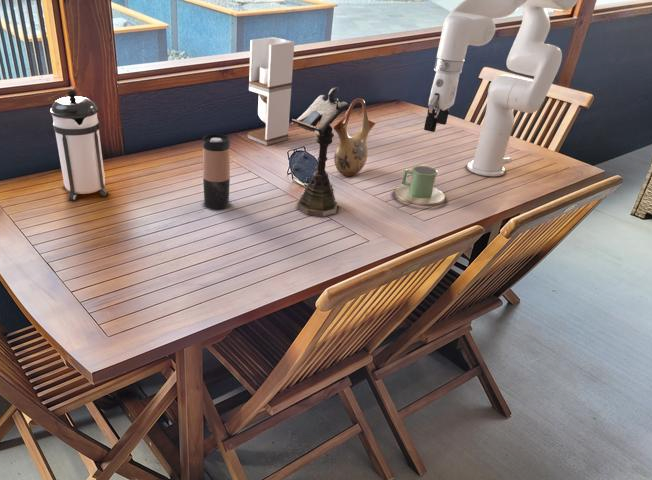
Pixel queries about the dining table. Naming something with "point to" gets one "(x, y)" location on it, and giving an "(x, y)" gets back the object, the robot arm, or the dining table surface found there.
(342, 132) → the ceramic vessel
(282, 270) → the dining table surface
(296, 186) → the dining table surface
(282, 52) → the white dispenser tower
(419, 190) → the coffee cup on saucer
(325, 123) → the ornate book stand
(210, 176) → the travel mug
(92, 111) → the coffee press
